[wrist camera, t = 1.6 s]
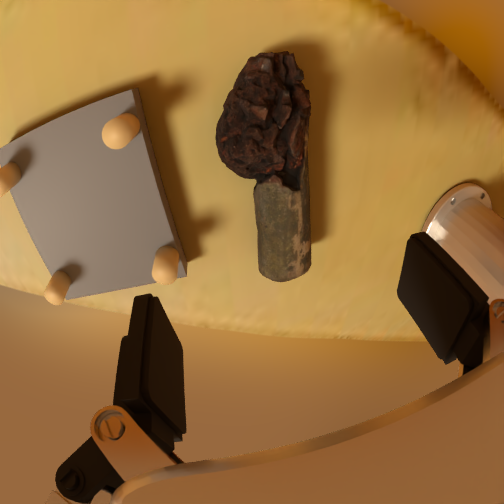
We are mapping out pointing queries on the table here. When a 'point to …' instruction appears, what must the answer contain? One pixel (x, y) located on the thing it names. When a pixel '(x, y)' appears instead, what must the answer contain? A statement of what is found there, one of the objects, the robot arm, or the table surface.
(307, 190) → the dark elongated piece
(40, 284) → the table surface
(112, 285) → the pipe stand
